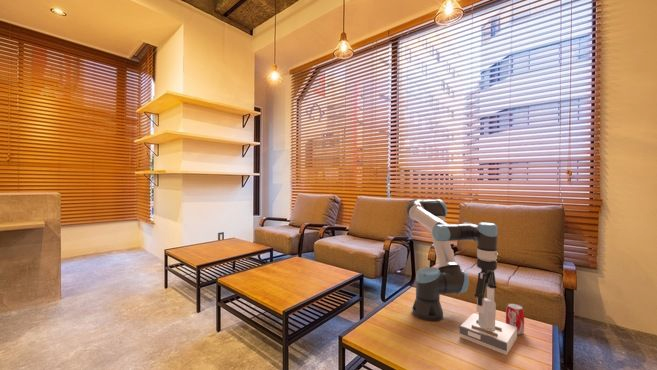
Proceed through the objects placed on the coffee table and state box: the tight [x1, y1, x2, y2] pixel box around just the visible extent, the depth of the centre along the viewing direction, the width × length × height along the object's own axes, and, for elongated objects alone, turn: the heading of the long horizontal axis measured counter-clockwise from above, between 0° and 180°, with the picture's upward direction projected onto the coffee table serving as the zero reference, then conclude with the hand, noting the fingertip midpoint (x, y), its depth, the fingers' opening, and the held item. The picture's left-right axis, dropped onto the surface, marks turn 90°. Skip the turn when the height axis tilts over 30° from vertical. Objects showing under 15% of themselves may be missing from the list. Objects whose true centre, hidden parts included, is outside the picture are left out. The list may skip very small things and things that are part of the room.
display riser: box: [459, 312, 518, 356], centre depth 123 cm, size 18×18×6 cm
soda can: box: [505, 302, 525, 336], centre depth 128 cm, size 7×7×12 cm
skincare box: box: [478, 297, 497, 332], centre depth 121 cm, size 6×4×12 cm
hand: (485, 307), depth 121 cm, fingers open, 13 cm apart
